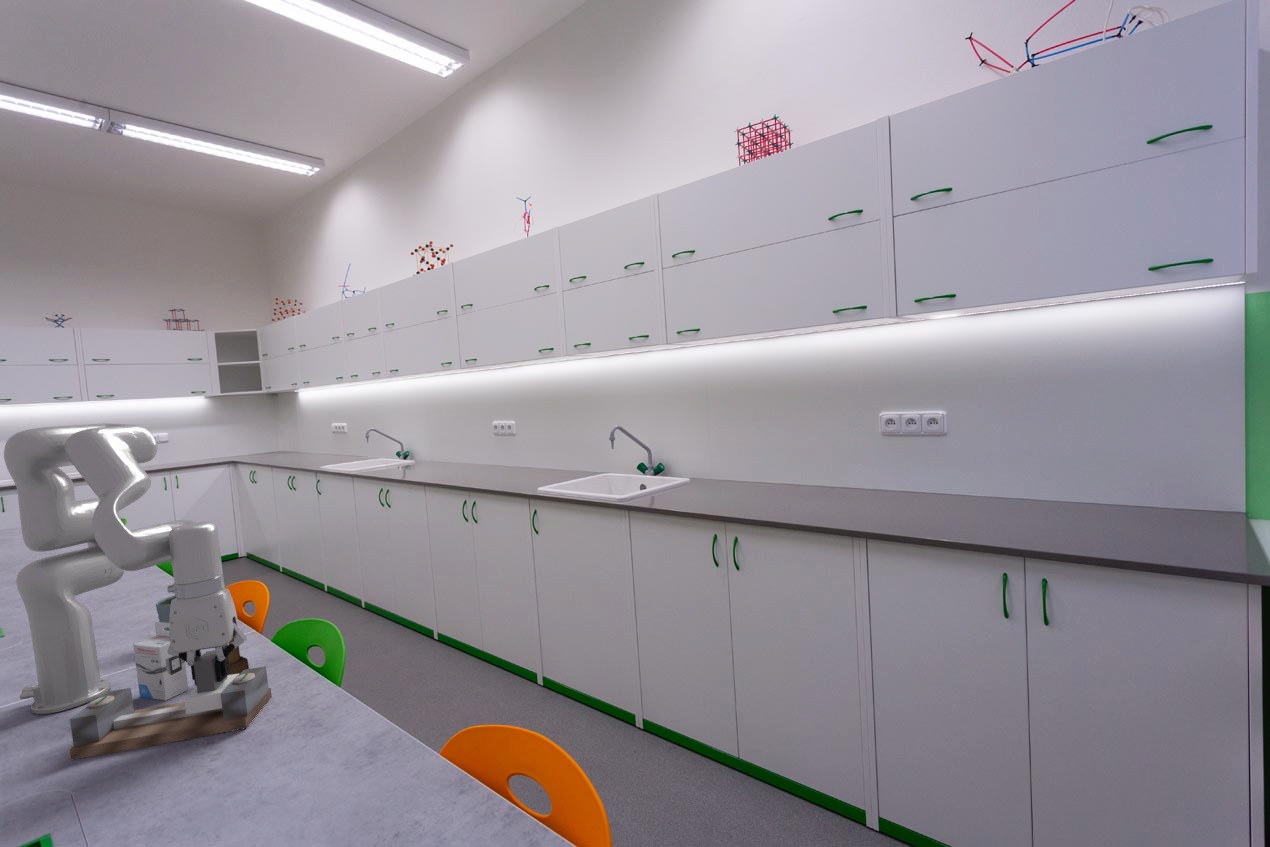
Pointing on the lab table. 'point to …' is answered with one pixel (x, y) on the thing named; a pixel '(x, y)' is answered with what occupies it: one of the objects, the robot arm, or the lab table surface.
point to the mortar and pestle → (237, 661)
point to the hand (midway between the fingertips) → (212, 679)
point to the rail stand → (164, 718)
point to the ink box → (159, 667)
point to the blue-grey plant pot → (164, 610)
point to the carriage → (206, 685)
